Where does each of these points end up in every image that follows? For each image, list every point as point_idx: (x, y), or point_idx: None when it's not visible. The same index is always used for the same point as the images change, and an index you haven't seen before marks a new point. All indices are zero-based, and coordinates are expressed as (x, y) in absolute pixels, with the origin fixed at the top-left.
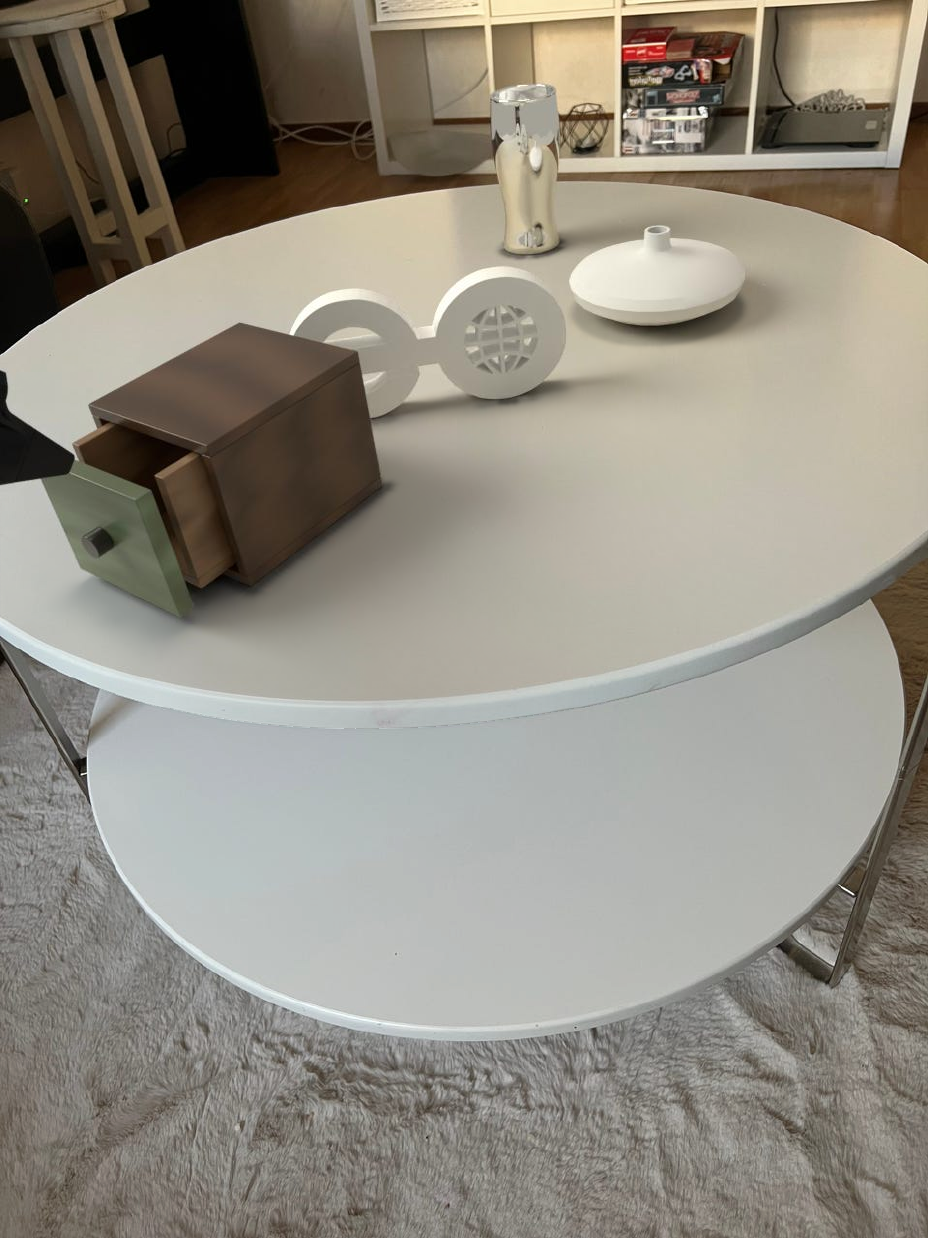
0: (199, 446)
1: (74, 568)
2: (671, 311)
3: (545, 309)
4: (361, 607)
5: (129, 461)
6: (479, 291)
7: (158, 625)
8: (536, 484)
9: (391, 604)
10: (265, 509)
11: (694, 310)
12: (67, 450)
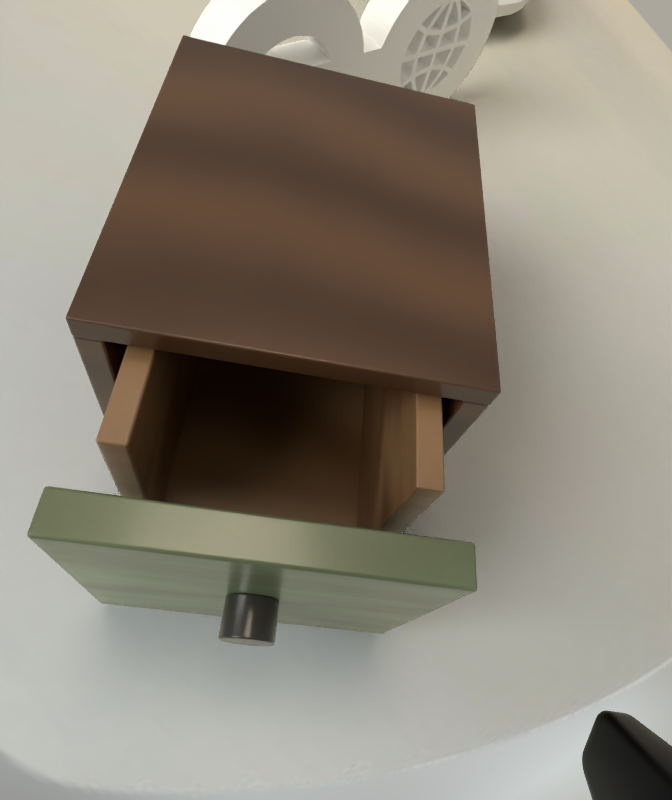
0: (472, 392)
1: (56, 589)
2: (509, 5)
3: (486, 7)
4: (553, 491)
5: (164, 398)
6: None
7: (328, 648)
8: (549, 247)
9: (578, 472)
10: None
11: (522, 4)
12: (663, 741)
